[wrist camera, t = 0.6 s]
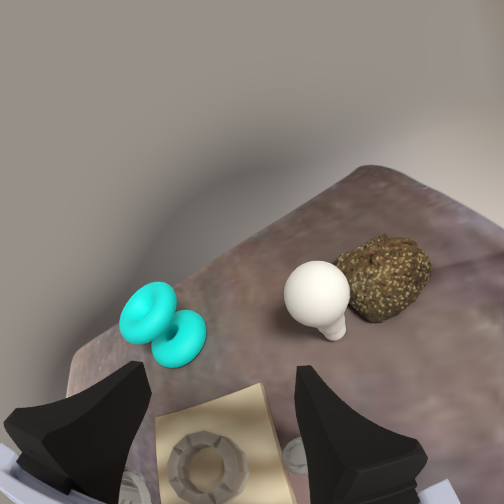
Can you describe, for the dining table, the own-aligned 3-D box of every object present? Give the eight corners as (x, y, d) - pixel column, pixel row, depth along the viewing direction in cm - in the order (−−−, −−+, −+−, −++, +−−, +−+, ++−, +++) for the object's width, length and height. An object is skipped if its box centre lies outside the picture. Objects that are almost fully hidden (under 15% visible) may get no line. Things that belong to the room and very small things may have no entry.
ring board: (304, 528, 14) (293, 534, 12) (172, 537, 15) (154, 537, 14) (263, 385, 28) (251, 376, 27) (160, 419, 30) (144, 412, 28)
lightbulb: (307, 358, 28) (265, 304, 22) (315, 313, 32) (281, 252, 26) (360, 357, 25) (338, 299, 19) (364, 309, 29) (343, 242, 23)
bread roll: (366, 338, 27) (359, 315, 24) (323, 272, 37) (312, 247, 34) (450, 278, 26) (453, 249, 23) (395, 228, 36) (390, 201, 33)
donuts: (162, 266, 38) (172, 306, 30) (200, 306, 44) (218, 347, 36) (115, 304, 38) (115, 349, 29) (156, 338, 43) (166, 382, 35)
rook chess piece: (347, 434, 20) (328, 421, 15) (350, 475, 16) (332, 478, 12) (302, 441, 21) (269, 430, 17) (303, 481, 18) (269, 483, 13)
